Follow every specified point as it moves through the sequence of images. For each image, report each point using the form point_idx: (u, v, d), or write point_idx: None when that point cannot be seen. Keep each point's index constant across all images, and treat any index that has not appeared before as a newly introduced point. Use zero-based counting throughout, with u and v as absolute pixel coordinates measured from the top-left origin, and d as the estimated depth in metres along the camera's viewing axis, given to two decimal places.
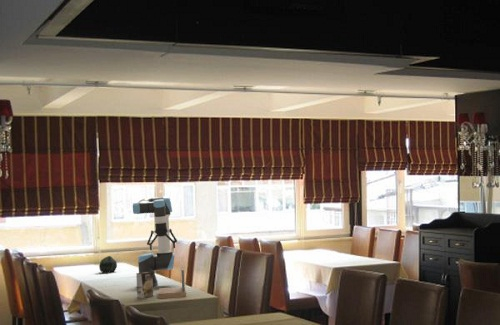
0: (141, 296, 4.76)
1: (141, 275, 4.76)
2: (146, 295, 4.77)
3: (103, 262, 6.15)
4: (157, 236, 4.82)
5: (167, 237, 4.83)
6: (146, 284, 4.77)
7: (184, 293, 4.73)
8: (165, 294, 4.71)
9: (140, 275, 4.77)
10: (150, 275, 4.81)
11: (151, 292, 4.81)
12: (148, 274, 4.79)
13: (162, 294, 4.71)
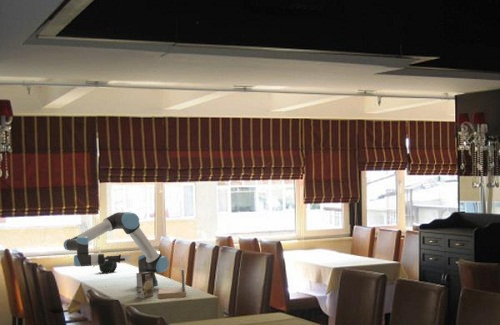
0: (141, 296, 4.76)
1: (141, 275, 4.76)
2: (146, 295, 4.77)
3: None
4: None
5: None
6: (146, 284, 4.77)
7: (184, 293, 4.73)
8: (165, 294, 4.71)
9: (140, 275, 4.77)
10: (150, 275, 4.81)
11: (151, 292, 4.81)
12: (148, 274, 4.79)
13: (162, 294, 4.71)
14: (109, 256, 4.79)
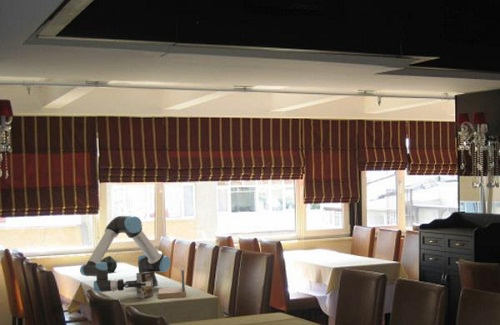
0: (141, 296, 4.76)
1: (141, 275, 4.76)
2: (146, 295, 4.77)
3: None
4: None
5: None
6: None
7: (184, 293, 4.73)
8: (165, 294, 4.71)
9: (140, 275, 4.77)
10: (150, 275, 4.81)
11: (151, 292, 4.81)
12: (148, 274, 4.79)
13: (162, 294, 4.71)
14: (128, 281, 4.81)
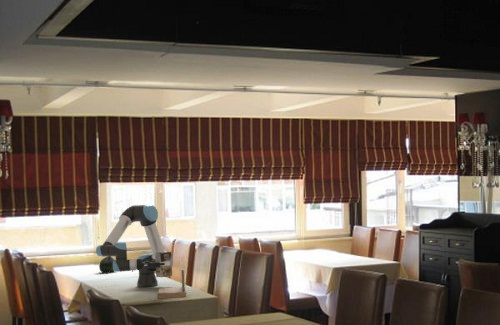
0: (160, 276, 4.77)
1: (160, 255, 4.77)
2: (165, 274, 4.78)
3: (103, 262, 6.15)
4: None
5: None
6: None
7: (184, 293, 4.73)
8: (165, 294, 4.71)
9: (159, 255, 4.77)
10: (169, 255, 4.81)
11: (170, 272, 4.81)
12: (167, 254, 4.80)
13: (162, 294, 4.71)
14: (147, 261, 4.81)
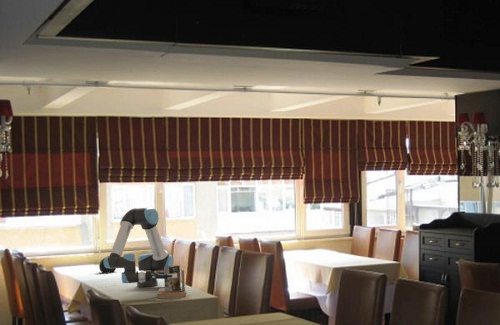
0: (169, 289, 4.78)
1: (169, 268, 4.78)
2: (174, 288, 4.80)
3: (103, 262, 6.15)
4: None
5: None
6: None
7: (184, 293, 4.73)
8: (165, 294, 4.71)
9: (168, 268, 4.79)
10: (177, 269, 4.83)
11: (178, 285, 4.83)
12: (175, 268, 4.82)
13: (162, 294, 4.71)
14: (156, 272, 4.83)
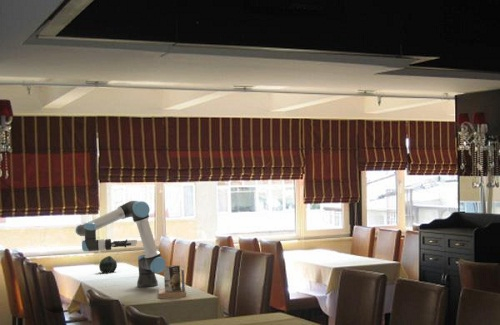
0: (169, 289, 4.78)
1: (169, 268, 4.78)
2: (174, 288, 4.80)
3: (103, 262, 6.15)
4: None
5: None
6: (173, 277, 4.80)
7: (184, 293, 4.73)
8: (165, 294, 4.71)
9: (168, 268, 4.79)
10: (177, 269, 4.83)
11: (178, 285, 4.83)
12: (175, 268, 4.82)
13: (162, 294, 4.71)
14: (116, 241, 4.95)
